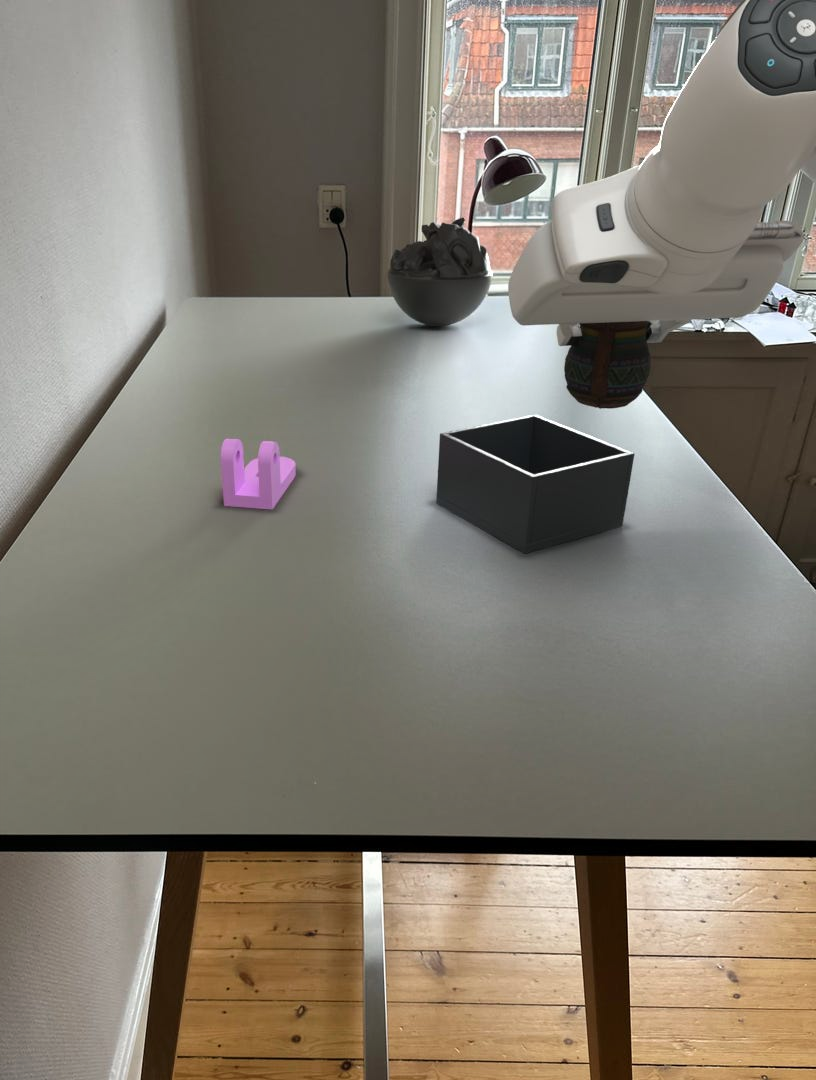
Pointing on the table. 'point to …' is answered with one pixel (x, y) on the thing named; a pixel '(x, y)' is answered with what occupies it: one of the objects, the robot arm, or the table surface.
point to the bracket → (254, 475)
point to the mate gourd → (608, 364)
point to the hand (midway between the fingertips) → (607, 337)
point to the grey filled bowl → (441, 275)
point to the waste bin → (533, 481)
